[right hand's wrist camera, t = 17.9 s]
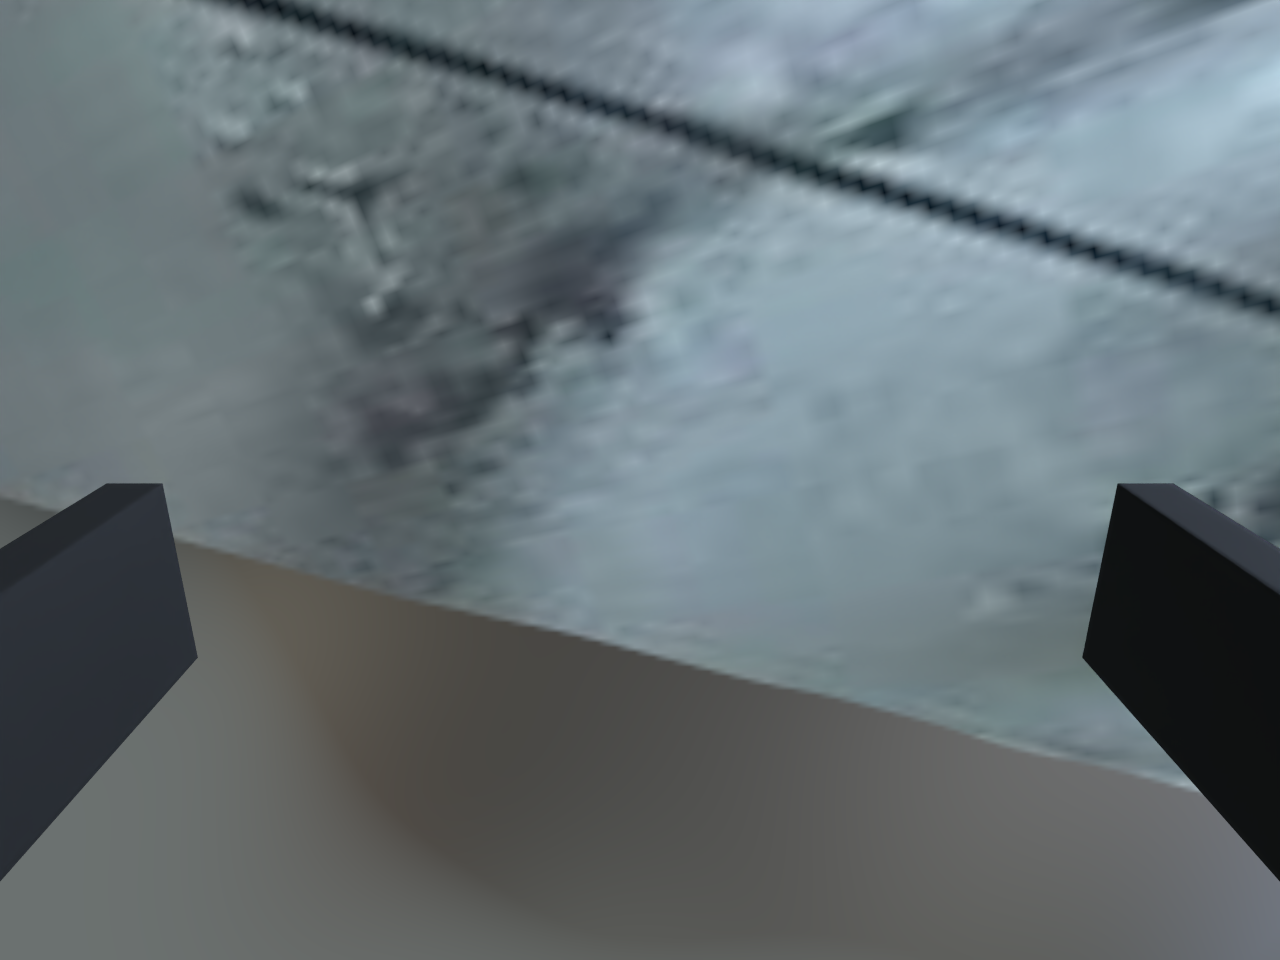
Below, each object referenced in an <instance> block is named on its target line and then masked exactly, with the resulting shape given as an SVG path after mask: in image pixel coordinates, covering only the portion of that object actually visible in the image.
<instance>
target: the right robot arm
mask: <svg viewBox="0 0 1280 960" xmlns="http://www.w3.org/2000/svg"><path fill="white" fill-rule="evenodd" d="M197 658H198V657H197V652H196V647H195V642H194V637H193V632H192V627H191V622H190V617H189V613H188V607H187V602H186V598H185V593H184V588H183V583H182V578H181V573H180V568H179V563H178V558H177V553H176V548H175V543H174V538H173V533H172V528H171V523H170V519H169V514H168V509H167V504H166V499H165V494H164V489H163V484H105V485H104V486H102V487H100V488H99V489H97V490H95V491H94V492H92V493H90V494H89V495H87V496H86V497H84V498H82V499H81V500H79V501H77V502H76V503H74V504H73V505H71V506H69V507H68V508H66V509H64V510H63V511H61V512H60V513H58V514H56V515H55V516H53V517H51V518H50V519H48V520H46V521H45V522H43V523H42V524H40V525H38V526H37V527H35V528H33V529H32V530H30V531H29V532H27V533H25V534H24V535H22V536H20V537H19V538H17V539H16V540H14V541H12V542H11V543H9V544H7V545H6V546H4V547H2V548H1V549H0V881H1V880H2V879H3V877H4V876H5V875H6V874H7V873H8V872H9V871H10V870H11V869H12V867H13V866H14V865H15V864H16V863H17V862H18V861H19V859H20V858H21V857H22V856H23V855H24V854H25V853H26V852H27V850H28V849H29V848H30V847H31V846H32V845H33V844H34V842H35V841H36V840H37V839H38V838H39V837H40V836H41V835H42V833H43V832H44V831H45V830H46V829H47V828H48V827H49V825H50V824H51V823H52V822H53V821H54V820H55V819H56V818H57V816H58V815H59V814H60V813H61V812H62V811H63V810H64V808H65V807H66V806H67V805H68V804H69V803H70V802H71V801H72V799H73V798H74V797H75V796H76V795H77V794H78V793H79V791H80V790H81V789H82V788H83V787H84V786H85V785H86V783H87V782H88V781H89V780H90V779H91V778H92V777H93V776H94V774H95V773H96V772H97V771H98V770H99V769H100V768H101V767H102V765H103V764H104V763H105V762H106V761H107V760H108V759H109V757H110V756H111V755H112V754H113V753H114V752H115V751H116V749H117V748H118V747H119V746H120V745H121V744H122V743H123V742H124V740H125V739H126V738H127V737H128V736H129V735H130V734H131V733H132V731H133V730H134V729H135V728H136V727H137V726H138V725H139V723H140V722H141V721H142V720H143V719H144V718H145V717H146V716H147V714H148V713H149V712H150V711H151V710H152V709H153V708H154V706H155V705H156V704H157V703H158V702H159V701H160V700H161V699H162V697H163V696H164V695H165V694H166V693H167V692H168V691H169V689H170V688H171V687H172V686H173V685H174V684H175V683H176V682H177V680H178V679H179V678H180V677H181V676H182V675H183V674H184V672H185V671H186V670H187V669H188V668H189V667H190V666H191V665H192V663H193V662H194V661H195V660H196V659H197ZM1082 658H1083V659H1084V660H1085V661H1086V662H1087V663H1088V665H1089V666H1090V667H1091V668H1092V669H1093V670H1094V671H1095V672H1096V674H1097V675H1098V676H1099V677H1100V678H1101V679H1102V680H1103V682H1104V683H1105V684H1106V685H1107V686H1108V687H1109V688H1110V689H1111V691H1112V692H1113V693H1114V694H1115V695H1116V696H1117V697H1118V699H1119V700H1120V701H1121V702H1122V703H1123V704H1124V705H1125V706H1126V708H1127V709H1128V710H1129V711H1130V712H1131V713H1132V714H1133V716H1134V717H1135V718H1136V719H1137V720H1138V721H1139V722H1140V723H1141V725H1142V726H1143V727H1144V728H1145V729H1146V730H1147V731H1148V733H1149V734H1150V735H1151V736H1152V737H1153V738H1154V739H1155V740H1156V742H1157V743H1158V744H1159V745H1160V746H1161V747H1162V748H1163V750H1164V751H1165V752H1166V753H1167V754H1168V755H1169V756H1170V757H1171V759H1172V760H1173V761H1174V762H1175V763H1176V764H1177V765H1178V767H1179V768H1180V769H1181V770H1182V771H1183V772H1184V773H1185V774H1186V776H1187V777H1188V778H1189V779H1190V780H1191V781H1192V782H1193V784H1194V785H1195V786H1196V787H1197V788H1198V789H1199V790H1200V791H1201V793H1202V794H1203V795H1204V796H1205V797H1206V798H1207V799H1208V801H1209V802H1210V803H1211V804H1212V805H1213V806H1214V807H1215V808H1216V810H1217V811H1218V812H1219V813H1220V814H1221V815H1222V816H1223V818H1224V819H1225V820H1226V821H1227V822H1228V823H1229V824H1230V825H1231V827H1232V828H1233V829H1234V830H1235V831H1236V832H1237V833H1238V835H1239V836H1240V837H1241V838H1242V839H1243V840H1244V841H1245V842H1246V844H1247V845H1248V846H1249V847H1250V848H1251V849H1252V850H1253V851H1254V853H1255V854H1256V855H1257V856H1258V857H1259V858H1260V859H1261V861H1262V862H1263V863H1264V864H1265V865H1266V866H1267V867H1268V869H1269V870H1270V871H1271V872H1272V873H1273V874H1274V875H1275V876H1276V878H1277V879H1278V880H1279V881H1280V549H1279V548H1278V547H1276V546H1274V545H1273V544H1271V543H1269V542H1268V541H1266V540H1264V539H1263V538H1261V537H1260V536H1258V535H1256V534H1255V533H1253V532H1251V531H1250V530H1248V529H1247V528H1245V527H1243V526H1242V525H1240V524H1238V523H1237V522H1235V521H1234V520H1232V519H1230V518H1229V517H1227V516H1225V515H1224V514H1222V513H1220V512H1219V511H1217V510H1216V509H1214V508H1212V507H1211V506H1209V505H1207V504H1206V503H1204V502H1203V501H1201V500H1199V499H1198V498H1196V497H1194V496H1193V495H1191V494H1190V493H1188V492H1186V491H1185V490H1183V489H1181V488H1180V487H1178V486H1176V485H1175V484H1117V489H1116V494H1115V499H1114V504H1113V509H1112V514H1111V519H1110V523H1109V528H1108V533H1107V538H1106V543H1105V548H1104V553H1103V558H1102V563H1101V568H1100V573H1099V578H1098V583H1097V588H1096V593H1095V598H1094V602H1093V607H1092V612H1091V617H1090V622H1089V627H1088V632H1087V637H1086V642H1085V647H1084V652H1083V657H1082Z"/></svg>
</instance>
